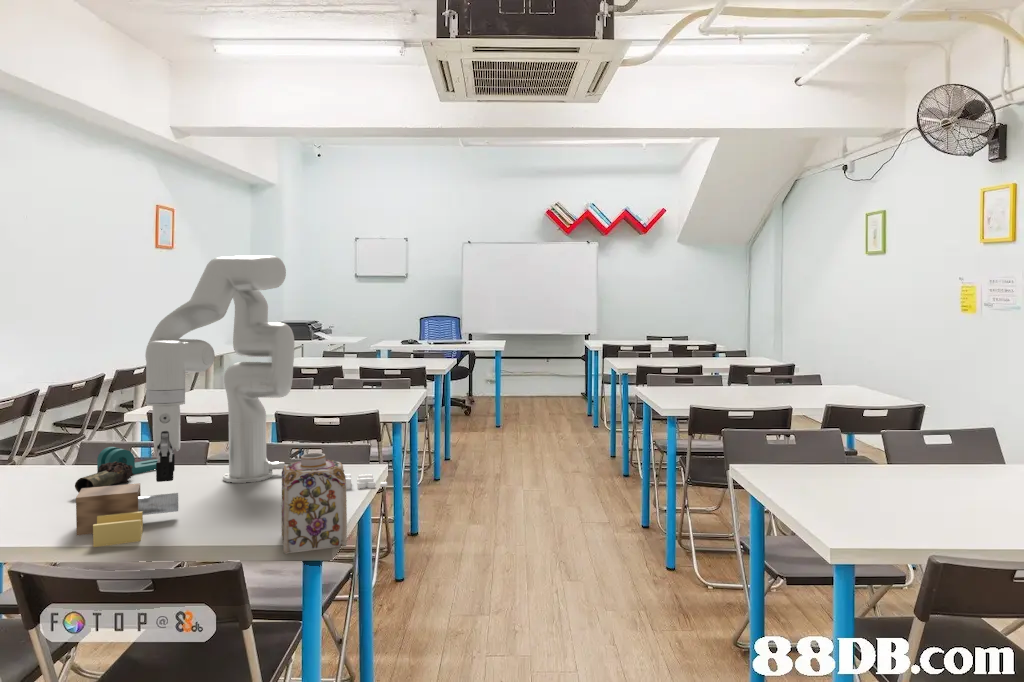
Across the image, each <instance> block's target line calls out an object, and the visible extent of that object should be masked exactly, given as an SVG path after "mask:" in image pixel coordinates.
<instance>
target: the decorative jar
mask: <svg viewBox="0 0 1024 682" xmlns="http://www.w3.org/2000/svg"><path fill="white" fill-rule="evenodd" d="M284 465H285V466H284V467H283V469H281V505H280V506H281V507H280V508H281V509H280V510H281V511H280V513H281V514H280V515H281V521H280V522H281V536H282V546H283V547H282V548H283V549H282V550H283V554H291V553H292V554H294V553H300V552H308V551H315V550H325V549H333V548H340V547H347V537H348V535H347V532H348V531H347V527H348V524H347V523H348V522H347V521H348V518H347V517H348V513H347V512H348V511H347V508H348V507H347V505H348V504H347V490H346V478H345V474H346V473H345V470H344V465H343V463H341V461H335V460H333V459H327V458H326V454H325V453H323V452H312V453H311V452H310V453H305V454H302V455H301V456H300V460H299V461H294V462H291V463H288V464H284Z"/></svg>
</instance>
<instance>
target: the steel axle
mask: <svg viewBox="0 0 1024 682" xmlns="http://www.w3.org/2000/svg"><path fill="white" fill-rule="evenodd" d="M138 508H139V512H140V511H143V516H147V515H157V514H167V513H174V512H175V513H178V512H179V492H173V493H163V494H162V493H161V494H151V495H149V494H148V495H141V496H139V497H138Z"/></svg>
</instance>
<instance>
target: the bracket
mask: <svg viewBox="0 0 1024 682" xmlns="http://www.w3.org/2000/svg"><path fill="white" fill-rule="evenodd" d="M96 459H97V460H96V465H97V466H96V467H97V469H96V471H97V472H98V468H99V466H101V465H102V464H106V463H108V462H111V463H112V462H116V461H117V463H120V462H122V463H125V464H127V465H131V466H133V468H132V473H133V474H134V475H137V474H143V473H142V472H144V473H147V472H146V471H149V472H151V471H150V470H154V469H156V462H157V458H155V459H149V460H142V461H137V462H135V461H136V460H135V456H134V454H133V452H131V451H130V450H128V449H125V448H121V447H120V448H119V447H116V446H108V447H105V448H103V449H102V450H101V451H100V452H99V454H98V456H97V458H96ZM154 471H155V470H154Z"/></svg>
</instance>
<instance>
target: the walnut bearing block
mask: <svg viewBox="0 0 1024 682" xmlns="http://www.w3.org/2000/svg"><path fill="white" fill-rule="evenodd" d="M139 496H142V495H141V483H139V482H138V483H128V484H115V485H109V486H103V487H91V488H82V489H81V490H80V492H78V494H76V497H75V518H76V519H75V520H76V521H75V525H76V536H81V535H82V536H83V535H91V534H92V535H93V525H94V524H97V516H101V515H111V514H120V513H130V512H139V508H138V497H139Z"/></svg>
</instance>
